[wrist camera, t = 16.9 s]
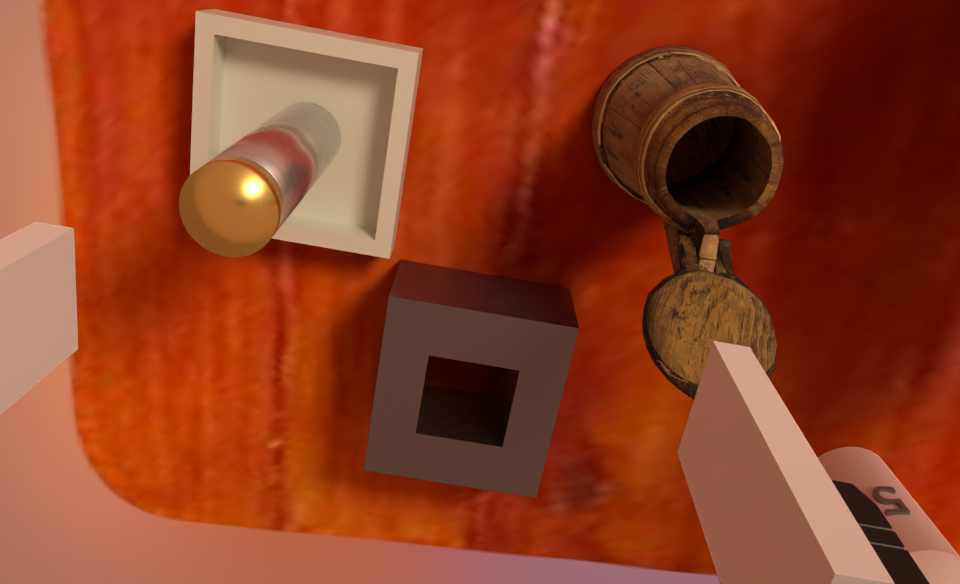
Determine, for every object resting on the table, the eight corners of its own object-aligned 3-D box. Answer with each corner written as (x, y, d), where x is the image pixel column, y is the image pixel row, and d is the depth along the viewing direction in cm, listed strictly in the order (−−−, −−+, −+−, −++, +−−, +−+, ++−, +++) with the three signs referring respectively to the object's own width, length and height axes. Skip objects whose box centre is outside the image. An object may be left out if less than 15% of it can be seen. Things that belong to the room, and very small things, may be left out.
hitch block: (400, 259, 49) (388, 296, 44) (569, 288, 50) (579, 328, 44) (376, 419, 54) (363, 470, 48) (531, 444, 54) (536, 497, 49)
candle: (894, 441, 54) (1033, 603, 40) (883, 517, 56) (1010, 695, 42) (802, 446, 54) (909, 609, 40) (795, 521, 57) (893, 700, 43)
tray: (213, 9, 44) (195, 11, 41) (423, 48, 44) (419, 52, 42) (204, 210, 48) (188, 223, 46) (395, 243, 49) (389, 258, 46)
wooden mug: (568, 259, 49) (607, 405, 32) (605, 37, 44) (673, 75, 27) (706, 274, 49) (815, 427, 33) (759, 55, 44) (920, 104, 28)
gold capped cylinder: (275, 96, 45) (179, 154, 31) (344, 108, 45) (280, 172, 31) (270, 163, 46) (177, 248, 32) (337, 174, 46) (273, 264, 32)
